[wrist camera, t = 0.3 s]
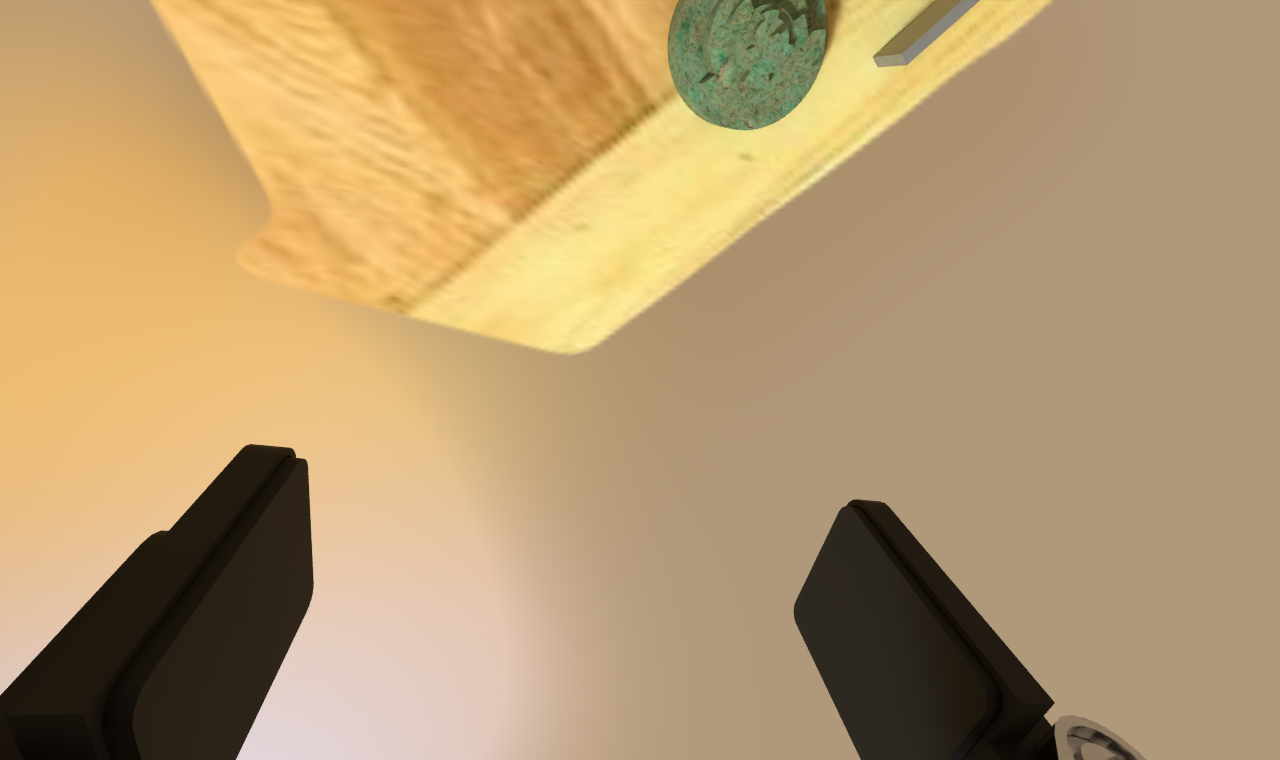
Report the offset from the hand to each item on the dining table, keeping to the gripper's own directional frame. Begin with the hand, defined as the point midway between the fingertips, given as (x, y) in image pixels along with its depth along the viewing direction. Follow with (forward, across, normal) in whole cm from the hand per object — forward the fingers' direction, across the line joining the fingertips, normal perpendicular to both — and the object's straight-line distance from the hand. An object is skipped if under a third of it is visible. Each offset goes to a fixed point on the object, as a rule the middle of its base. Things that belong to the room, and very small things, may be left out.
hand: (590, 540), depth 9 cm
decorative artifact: (+34, -10, -13) cm, 38 cm away
